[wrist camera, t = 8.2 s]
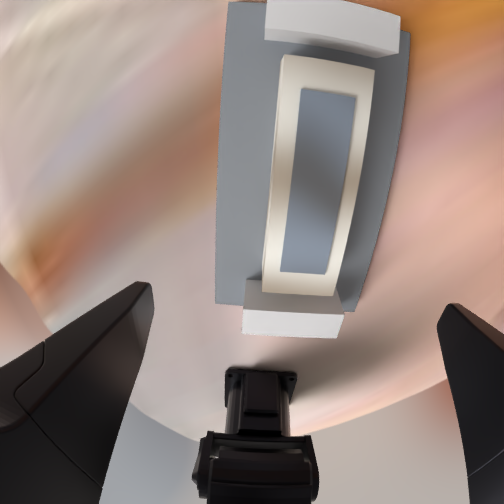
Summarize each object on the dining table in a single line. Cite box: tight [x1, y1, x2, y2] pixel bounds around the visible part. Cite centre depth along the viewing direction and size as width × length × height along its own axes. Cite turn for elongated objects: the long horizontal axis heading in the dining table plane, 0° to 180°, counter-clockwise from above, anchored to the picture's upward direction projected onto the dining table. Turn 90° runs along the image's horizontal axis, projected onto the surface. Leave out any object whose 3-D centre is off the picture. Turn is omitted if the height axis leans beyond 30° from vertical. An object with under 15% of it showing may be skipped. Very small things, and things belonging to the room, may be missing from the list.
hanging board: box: [215, 0, 410, 338], centre depth 15 cm, size 19×10×4 cm, turn 176°
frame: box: [262, 54, 375, 296], centre depth 15 cm, size 12×4×3 cm, turn 176°
